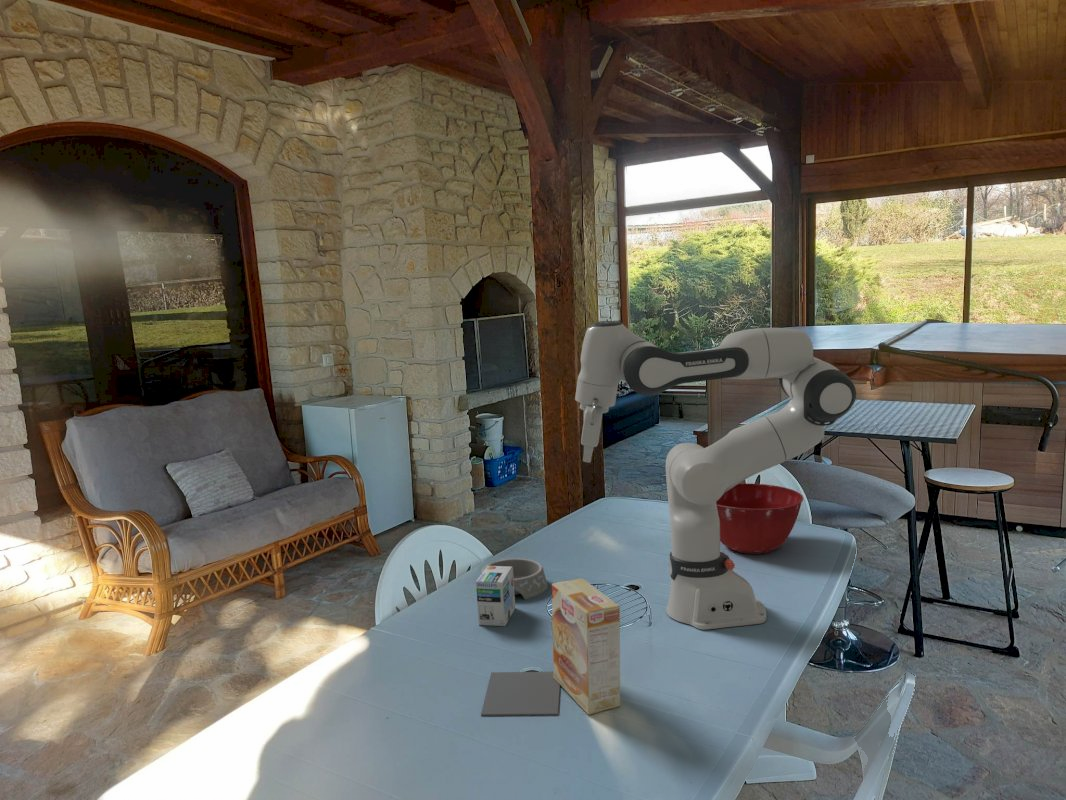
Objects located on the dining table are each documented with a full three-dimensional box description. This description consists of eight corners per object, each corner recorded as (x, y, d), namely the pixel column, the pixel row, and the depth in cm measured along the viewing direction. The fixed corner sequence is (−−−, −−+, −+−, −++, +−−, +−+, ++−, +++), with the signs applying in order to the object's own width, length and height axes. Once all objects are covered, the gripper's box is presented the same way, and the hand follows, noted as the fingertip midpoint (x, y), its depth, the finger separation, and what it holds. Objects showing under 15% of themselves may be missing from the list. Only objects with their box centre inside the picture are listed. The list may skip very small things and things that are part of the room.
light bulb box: (505, 627, 170) (503, 582, 168) (477, 626, 171) (474, 581, 170) (516, 607, 180) (513, 565, 179) (489, 606, 181) (486, 564, 180)
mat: (560, 672, 148) (560, 671, 148) (557, 715, 133) (557, 713, 133) (491, 673, 149) (491, 672, 149) (481, 715, 134) (480, 714, 134)
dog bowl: (481, 576, 202) (480, 558, 201) (548, 574, 201) (547, 555, 201) (474, 602, 185) (473, 582, 184) (547, 599, 184) (546, 579, 184)
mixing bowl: (722, 525, 233) (721, 478, 231) (815, 539, 217) (815, 488, 214) (685, 553, 211) (683, 501, 209) (785, 570, 194) (785, 514, 192)
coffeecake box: (552, 677, 145) (550, 583, 143) (584, 669, 148) (583, 576, 145) (587, 716, 132) (585, 612, 129) (621, 706, 134) (621, 604, 132)
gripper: (610, 406, 150) (600, 471, 153) (610, 388, 170) (601, 445, 173) (579, 402, 150) (570, 466, 153) (583, 384, 170) (575, 442, 173)
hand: (587, 455), depth 163 cm, fingers open, 8 cm apart
